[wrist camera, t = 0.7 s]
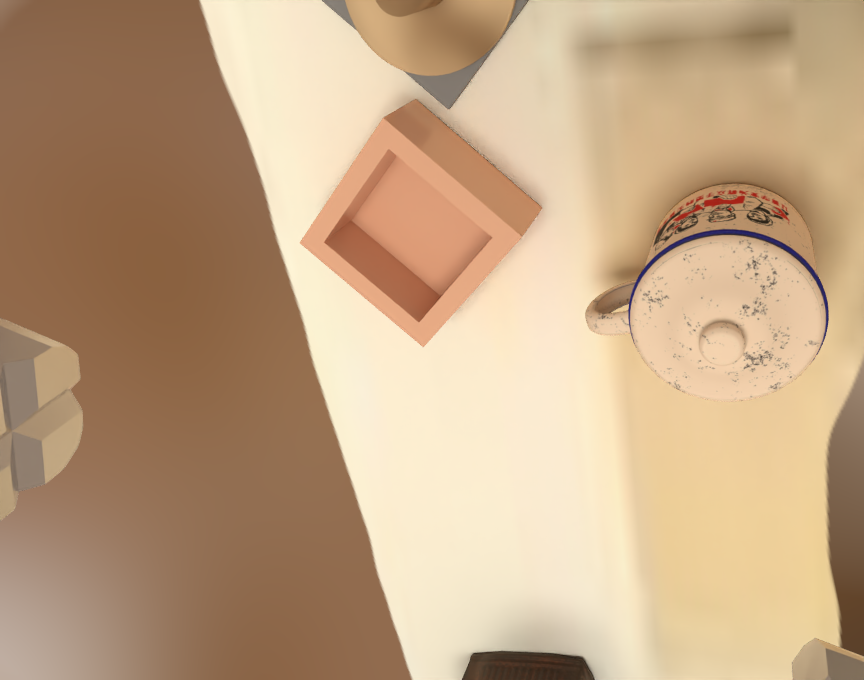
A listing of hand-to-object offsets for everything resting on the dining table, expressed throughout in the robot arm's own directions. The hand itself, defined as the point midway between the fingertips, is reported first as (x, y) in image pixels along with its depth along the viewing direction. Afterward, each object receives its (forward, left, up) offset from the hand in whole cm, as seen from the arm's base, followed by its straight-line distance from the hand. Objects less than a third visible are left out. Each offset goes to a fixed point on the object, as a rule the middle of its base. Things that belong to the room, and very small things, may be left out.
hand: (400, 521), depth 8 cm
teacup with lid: (+8, +10, -40) cm, 42 cm away
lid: (+6, -12, -39) cm, 42 cm away
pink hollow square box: (+17, -4, -40) cm, 44 cm away
